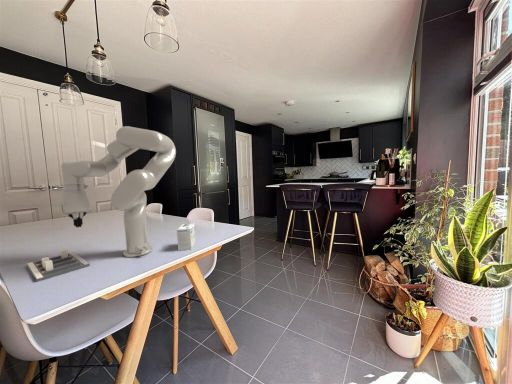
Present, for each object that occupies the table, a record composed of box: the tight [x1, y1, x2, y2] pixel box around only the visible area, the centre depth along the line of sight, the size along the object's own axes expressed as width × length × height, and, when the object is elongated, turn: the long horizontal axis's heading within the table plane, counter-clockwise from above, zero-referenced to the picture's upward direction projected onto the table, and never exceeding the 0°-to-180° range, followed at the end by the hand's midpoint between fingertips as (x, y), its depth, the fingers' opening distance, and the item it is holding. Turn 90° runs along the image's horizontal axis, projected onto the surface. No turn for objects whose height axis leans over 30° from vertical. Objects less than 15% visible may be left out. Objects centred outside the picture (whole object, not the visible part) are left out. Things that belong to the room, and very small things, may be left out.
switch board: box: [26, 251, 90, 282], centre depth 92 cm, size 24×16×2 cm, turn 53°
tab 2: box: [44, 260, 53, 271], centre depth 85 cm, size 2×2×4 cm
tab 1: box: [40, 256, 50, 267], centre depth 89 cm, size 2×2×4 cm
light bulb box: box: [176, 223, 196, 251], centre depth 110 cm, size 11×7×11 cm, turn 5°
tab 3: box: [59, 248, 69, 258], centre depth 98 cm, size 2×2×4 cm
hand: (78, 226), depth 102 cm, fingers closed
